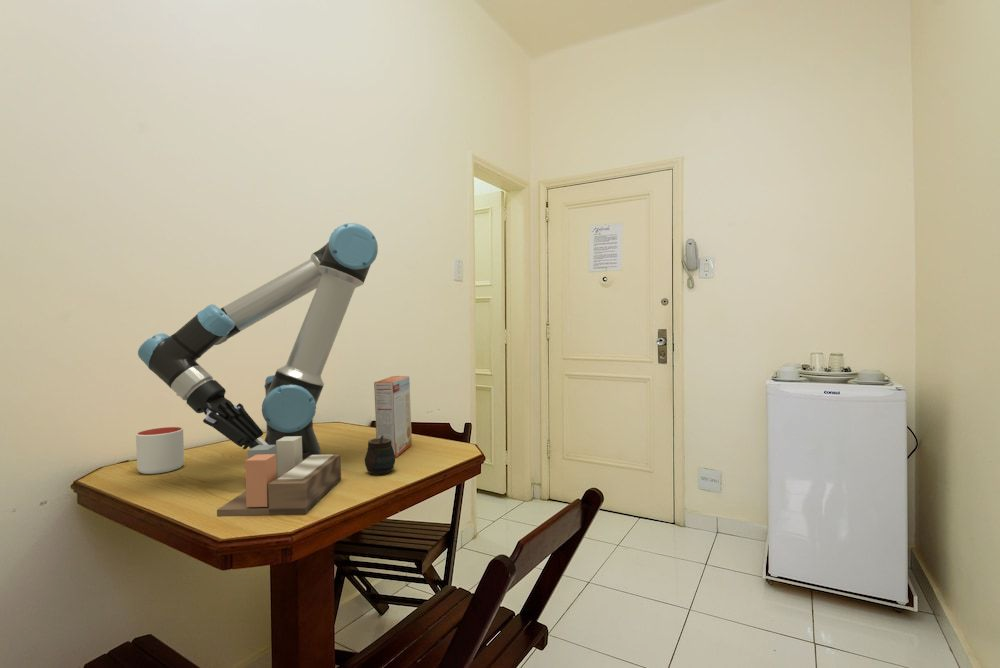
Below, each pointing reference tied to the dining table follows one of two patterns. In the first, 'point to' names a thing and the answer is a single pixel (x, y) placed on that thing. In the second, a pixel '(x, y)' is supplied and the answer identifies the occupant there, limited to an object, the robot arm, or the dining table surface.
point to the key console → (293, 489)
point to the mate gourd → (379, 456)
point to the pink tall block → (259, 479)
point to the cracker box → (394, 412)
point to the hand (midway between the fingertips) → (275, 461)
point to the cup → (160, 450)
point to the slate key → (263, 451)
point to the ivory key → (288, 453)
